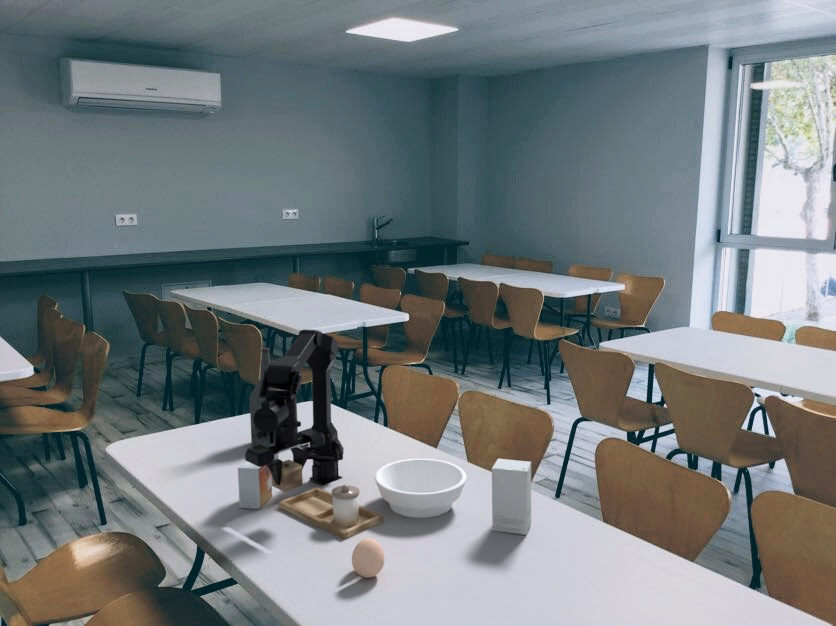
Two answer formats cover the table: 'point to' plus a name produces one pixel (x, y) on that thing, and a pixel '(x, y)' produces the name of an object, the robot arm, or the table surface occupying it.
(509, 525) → the skincare box
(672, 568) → the table surface
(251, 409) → the bottle
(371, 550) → the egg
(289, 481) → the beige box
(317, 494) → the caddy
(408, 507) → the bowl
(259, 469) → the small box
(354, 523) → the sugar jar
